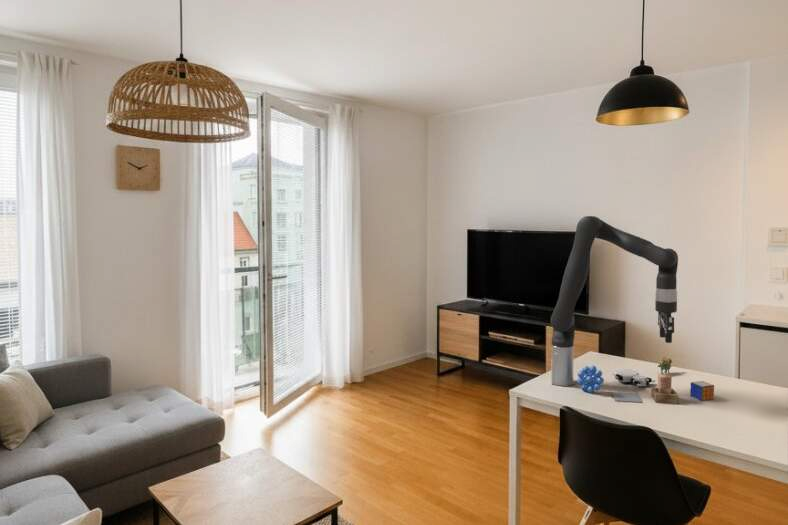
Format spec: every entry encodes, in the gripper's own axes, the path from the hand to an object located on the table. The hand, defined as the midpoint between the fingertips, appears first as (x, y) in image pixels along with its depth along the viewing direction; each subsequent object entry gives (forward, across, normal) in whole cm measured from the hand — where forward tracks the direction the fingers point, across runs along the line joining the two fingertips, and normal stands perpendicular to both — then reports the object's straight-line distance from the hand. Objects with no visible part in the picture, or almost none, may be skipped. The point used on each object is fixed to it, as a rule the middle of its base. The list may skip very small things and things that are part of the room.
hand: (665, 339), depth 205 cm
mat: (+24, 0, -14) cm, 28 cm away
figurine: (+25, -34, +8) cm, 43 cm away
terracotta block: (+24, 0, 0) cm, 25 cm away
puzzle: (+25, -5, +15) cm, 29 cm away
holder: (+24, 0, 0) cm, 24 cm away
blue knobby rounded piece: (+24, -4, -27) cm, 37 cm away
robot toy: (+25, -19, -8) cm, 32 cm away
